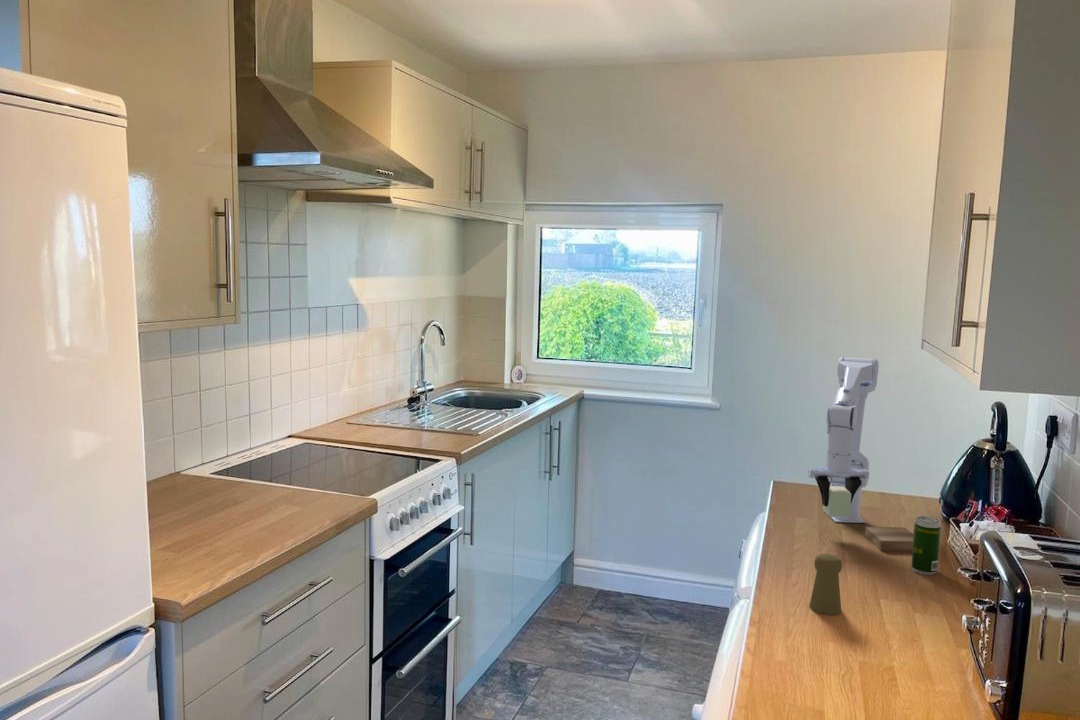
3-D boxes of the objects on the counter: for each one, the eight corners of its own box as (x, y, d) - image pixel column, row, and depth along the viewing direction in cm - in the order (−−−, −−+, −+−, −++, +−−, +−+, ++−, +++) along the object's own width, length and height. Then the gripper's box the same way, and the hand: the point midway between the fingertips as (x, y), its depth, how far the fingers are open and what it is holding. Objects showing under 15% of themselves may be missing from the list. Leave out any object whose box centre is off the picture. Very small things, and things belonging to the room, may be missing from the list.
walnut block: (864, 538, 199) (865, 526, 199) (904, 538, 199) (905, 527, 198) (880, 552, 189) (881, 540, 189) (922, 553, 189) (923, 541, 188)
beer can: (941, 571, 177) (945, 520, 175) (930, 577, 173) (934, 525, 172) (917, 564, 181) (921, 514, 179) (906, 570, 177) (910, 518, 176)
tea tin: (822, 509, 200) (824, 485, 199) (842, 510, 200) (844, 486, 199) (829, 516, 195) (831, 491, 194) (849, 517, 195) (851, 492, 194)
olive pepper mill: (826, 617, 153) (829, 563, 152) (802, 605, 158) (805, 553, 157) (848, 611, 156) (851, 558, 154) (824, 599, 161) (827, 548, 160)
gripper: (815, 456, 192) (812, 509, 193) (875, 457, 191) (871, 511, 193) (806, 449, 199) (803, 501, 200) (864, 450, 198) (860, 502, 200)
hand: (836, 505), depth 197 cm, fingers closed on tea tin, 5 cm apart
